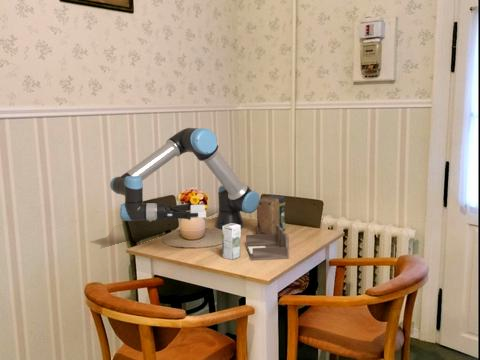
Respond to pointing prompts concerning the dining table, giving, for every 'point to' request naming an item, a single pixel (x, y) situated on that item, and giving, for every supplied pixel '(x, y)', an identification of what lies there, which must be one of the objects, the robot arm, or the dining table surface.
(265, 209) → the block
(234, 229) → the syrup box
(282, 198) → the coffee jar
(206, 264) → the dining table surface
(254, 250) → the bay
